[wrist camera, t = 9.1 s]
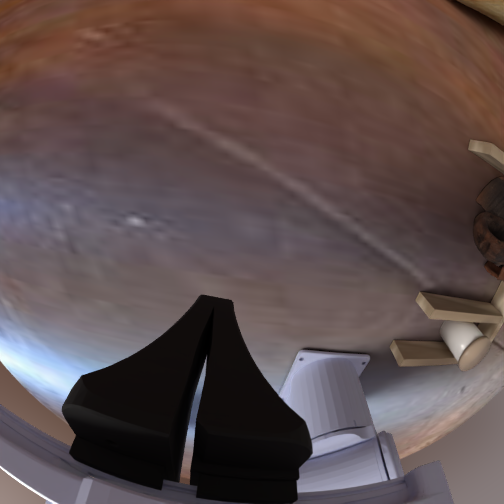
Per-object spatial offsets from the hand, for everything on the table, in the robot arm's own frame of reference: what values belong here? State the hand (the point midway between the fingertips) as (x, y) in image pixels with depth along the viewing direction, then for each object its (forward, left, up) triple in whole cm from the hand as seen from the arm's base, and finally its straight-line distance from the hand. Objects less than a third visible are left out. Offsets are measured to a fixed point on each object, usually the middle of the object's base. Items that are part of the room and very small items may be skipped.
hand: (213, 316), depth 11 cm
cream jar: (-5, -26, -10) cm, 28 cm away
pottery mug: (+7, -24, -10) cm, 27 cm away
